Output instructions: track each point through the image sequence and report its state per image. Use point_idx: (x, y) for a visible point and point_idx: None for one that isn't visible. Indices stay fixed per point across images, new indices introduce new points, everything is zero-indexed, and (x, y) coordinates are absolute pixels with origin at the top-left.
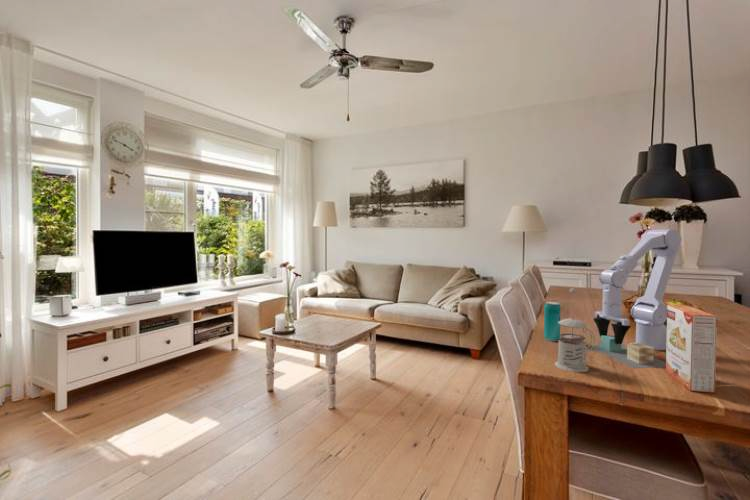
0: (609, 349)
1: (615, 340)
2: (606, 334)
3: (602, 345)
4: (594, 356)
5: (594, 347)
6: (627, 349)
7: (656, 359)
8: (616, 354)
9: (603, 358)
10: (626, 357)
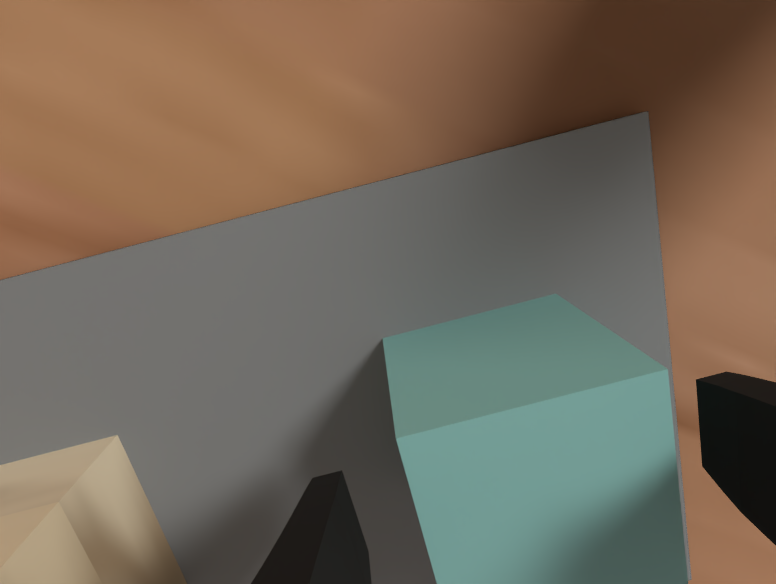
0: (386, 352)
1: (304, 506)
2: (751, 508)
3: (532, 317)
4: (135, 34)
5: (563, 211)
6: (36, 523)
7: None
8: (266, 377)
9: (69, 138)
10: (160, 444)
